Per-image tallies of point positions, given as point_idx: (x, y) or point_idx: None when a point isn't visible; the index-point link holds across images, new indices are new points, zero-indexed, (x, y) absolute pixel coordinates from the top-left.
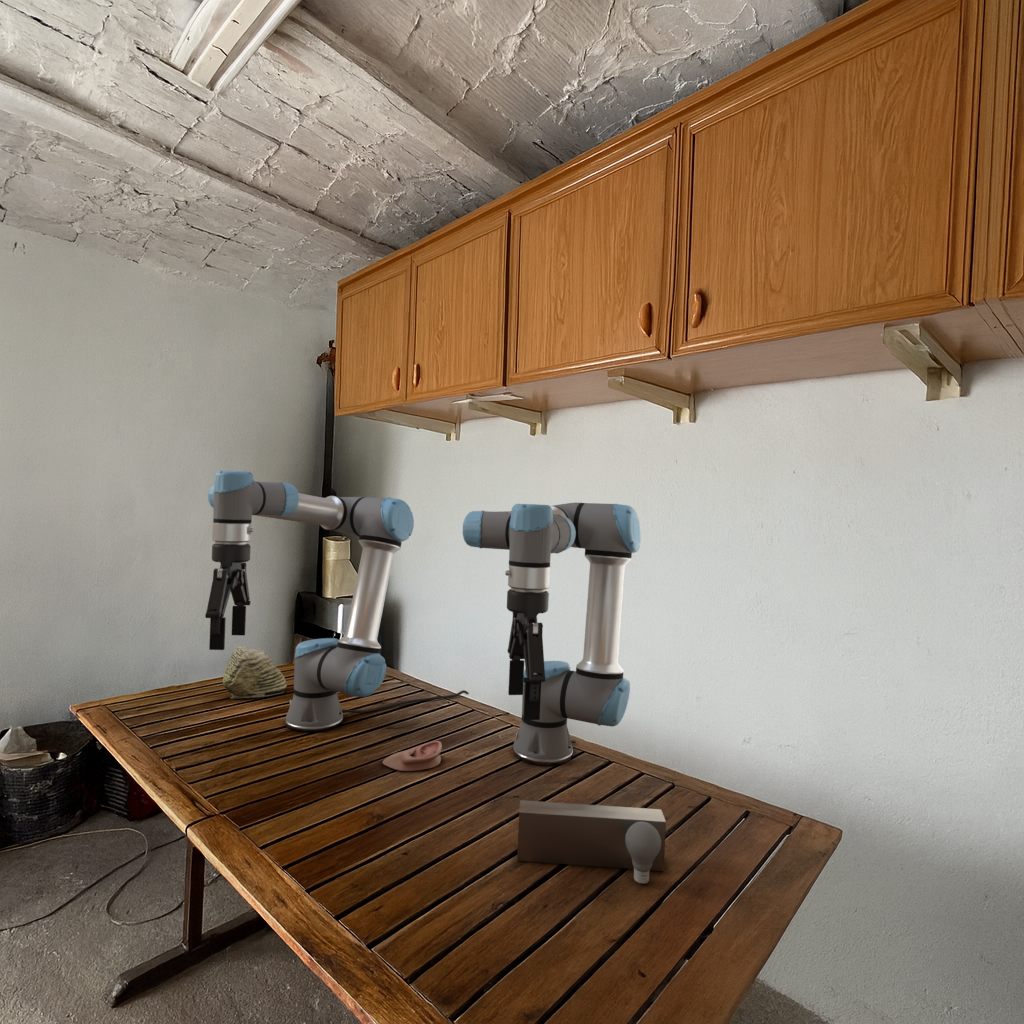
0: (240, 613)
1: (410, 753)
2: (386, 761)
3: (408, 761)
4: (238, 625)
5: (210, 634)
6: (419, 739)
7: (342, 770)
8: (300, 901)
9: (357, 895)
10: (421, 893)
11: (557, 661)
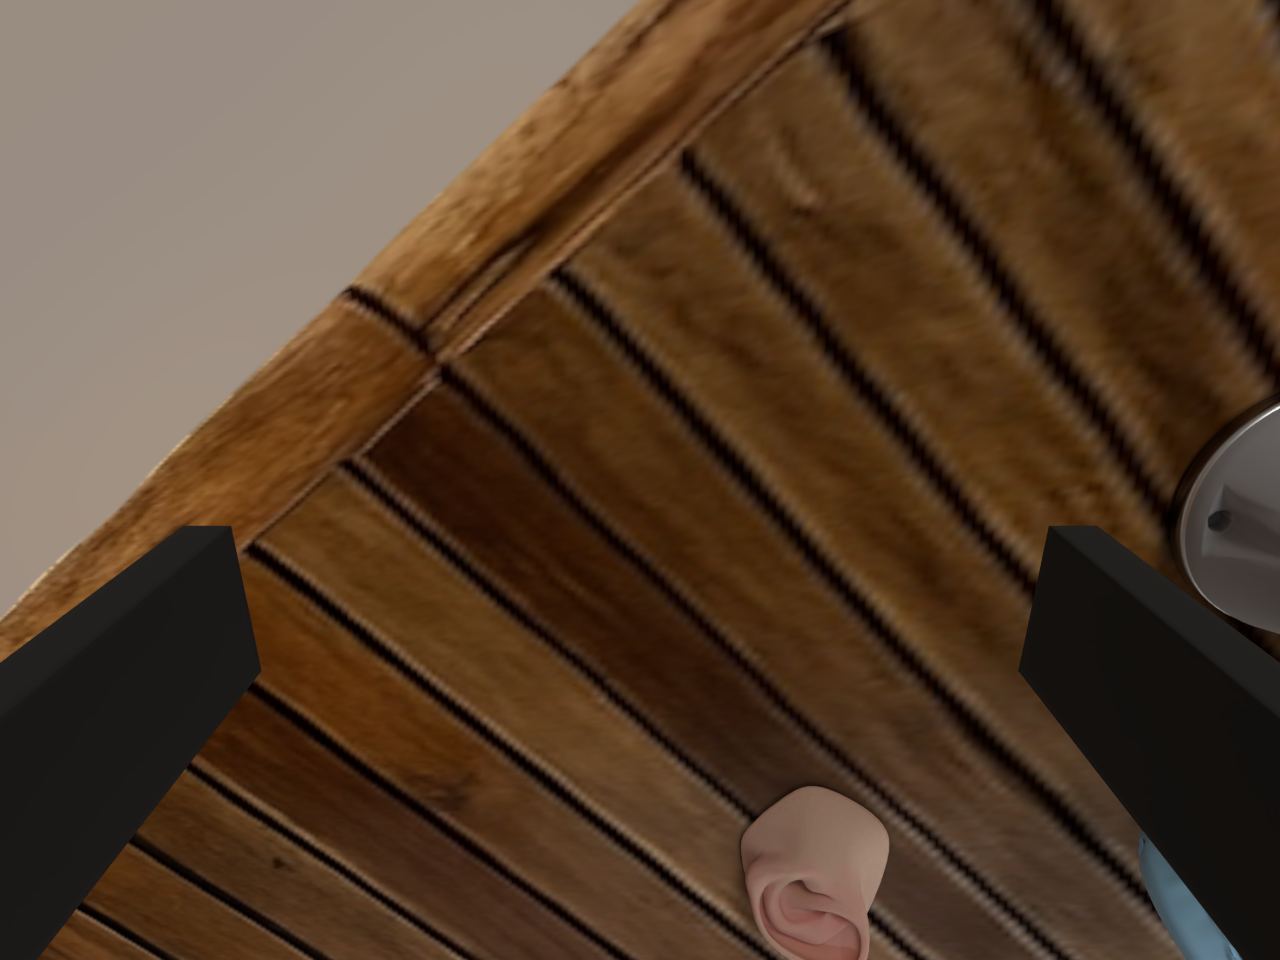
0: (1251, 872)
1: (806, 883)
2: (798, 804)
3: (745, 879)
4: (1110, 688)
5: (38, 644)
6: (1011, 870)
7: (767, 675)
8: None
9: None
10: (129, 896)
11: None
